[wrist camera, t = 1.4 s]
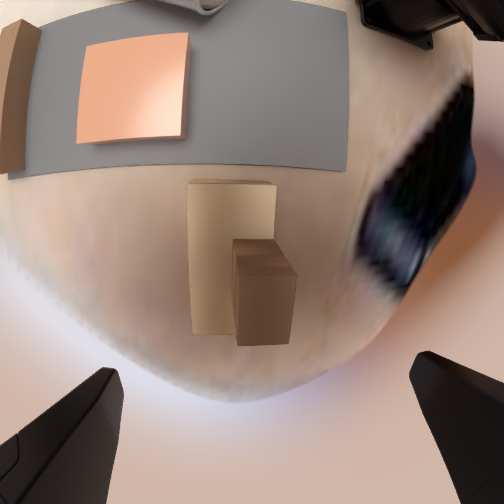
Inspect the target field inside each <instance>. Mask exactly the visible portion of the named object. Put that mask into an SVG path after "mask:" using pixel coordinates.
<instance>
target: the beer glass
mask: <svg viewBox="0 0 504 504" xmlns="http://www.w3.org/2000/svg"><path fill="white" fill-rule="evenodd" d="M157 1H161V2H164V3H168V4H171V5H175V6H178V7H182V8H185V9H189V10H192V11H195V12H197V13H200V14H201V15H210V14H213V13H215V12H217V11H218V10H220V9H221V8H223V7H224V6H225V5H226V4H228V3H229V2H230V1H231V0H157Z"/></svg>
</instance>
